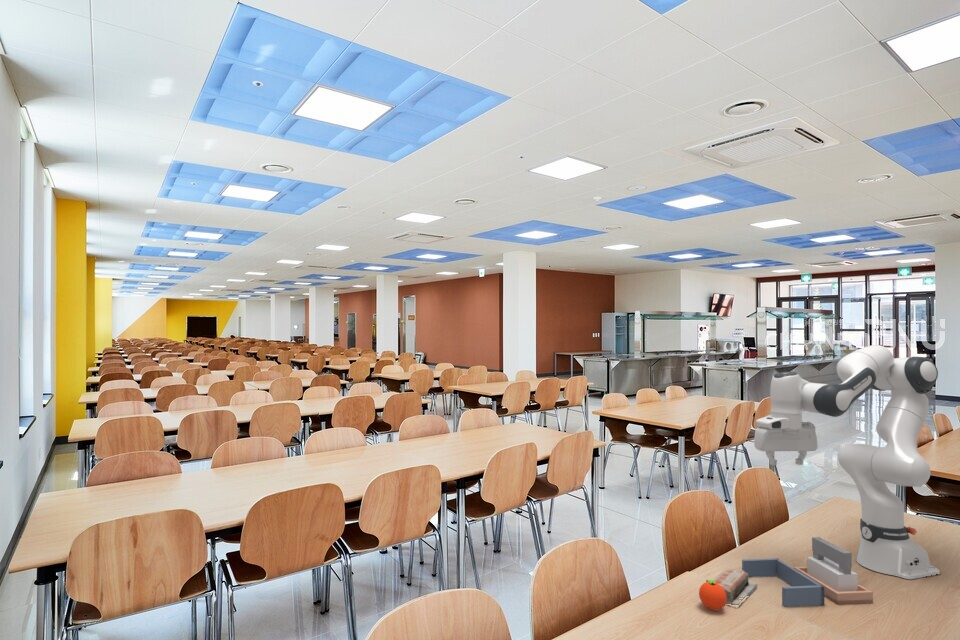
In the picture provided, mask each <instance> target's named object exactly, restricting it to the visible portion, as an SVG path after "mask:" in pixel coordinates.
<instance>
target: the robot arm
mask: <svg viewBox="0 0 960 640" xmlns="http://www.w3.org/2000/svg"><path fill="white" fill-rule="evenodd" d="M836 374H837V376H838V377H839V379H840V380H841V381H842V383H830V384H829V383H819V382H818V383H817V382H810V381H808V380H806V379H804V378H802V377H801V376H800V374H799V373H798V372H795V371H781V372H778V373H775V374H773V376H772V378H771V381H770V388H769V389H770V391H769V394H770V395H769V397H770V398H769V399H770V402H771V407H770V414H768V415H766V416H763V417H760V418H758V419H756V420H755V425H756V426H757V427H756V428H755V431H754V438H753V439H754V441H753V444H754V447H755V449H756V450H758V451H760V452H765V455H766V457H767V459H768V464H769V465H770V466H777V465H778V463H777V462H778V460H777V459H775V458H774V455H775V452H797V453H798V456H797V458H795V461H794V463H795V465H797V466H803V465H804V460H805V458H806V457H807V456H808V452H816V451H817V450H818V446H819V445H818V437H817V433H816V426H815V424H813V423H812V422H811V421H803V414H802V411H803V412H809V413H815V414H820V415H821V414H822V415H825V416H829V417H832V418H833V417H834V418H837V417H840V416H843V415H844V414H846V412H847V411H848V410H849V408H850V407H851V405H852V404H853V403H854V402H855V401H857V400H858V399H859V398H861V396H863V395H864V394H866V392H868V391H870V389H871V390H875V391H881V392H885V391H890V394H891V395H890V399H889V400H888V401H887V404H886V405H885V408H884V409H883V411H882V414H881V415H880V417H879V420H878V422H877V423H876V426H875V430H876V433H877V435H878V436H879V438H880V439H882V440H883V441H884V442H885V443H886V445H885V446H884V447H883V446H876V445H870V444H866V443H846V444H844V445H842V446H841V448H839V451H838V455H837V459H838V463H839V466H840V467H841V468H842V469H843V471H845V472H846V473H847V474H848V476H849V477H850V478H851V479H852V481H853V482H854V484H855V486H856V488H857V490H858V493H859V497H860V506H861V518H860V520H859V521H860V523H859V527H860V528H859V530H860V538H859V539H860V540H859V548H858V552H857V557H856V559H855V560H856V562H857V563H858V565H860V566H862V567H864V568H866V569H868V570H871V571H873V572H877V573H880V574H886V575H890V576H894V577H895V576H896V577H898V578H903V579H905V580H914V579H915V580H916V579H920V578H925V577H926V576H927V577H931V575H932V576H936V574H938V575H941V572H940V570H939V569H938V568H937V567H936V566H934V565H932V564H931V563H930V557H929V552H928V551H927V550H925V549H924V548H923V547H922V546H921V545H919V544H917V543H916V541H914V540H912V539H911V538H910V535H912V536H915V535H916V534H917V528H913V527H911V526H907V527H906V526H905V513H904V511H905V510H904V509H905V508H904V507H905V506H904V504H903V501H902V500H901V498H900V497H899V496H897V495H896V494H895V493H894V492H892V491H891V490H890V489H889V487H888V486H887V483H889V484H893V485H897V486H902V487H917V488H919V487H922V486H924V485H925V484H927V483H928V481H929V479H930V477H931V472H932V471H931V467H930V465H929V462H928V461H927V460H926V459H925V458H924V457H923V456H922V455H921V454H920V452H919V451H918V445H917V444H918V438H919V436H920V433H921V430H922V428H923V425H924V423H925V421H926V418H927V414H928V411H929V404H930V402H929V398H928V396H927V395H926V394H927V393H929V392H931V390H932V389H933V387H934V386H935V384H936V382H937V380H938V377H939V371H938V368H937V366H936V364H935V363H934V362H933V361H932V360H931V359H929V358H928V357H924V356H910V357H896V358H894V355H893V353H892V352H891V350H890V349H889V348H887V347H885V346H883V345H880V344H872V345H867V346H863V347H861V348H859V349H856V350H854V351H852V352H850V353H849V354H846V355H845V356H843V357H842V358H841V359H840V360H839V361H838V362H837V364H836ZM909 534H910V535H909Z"/></svg>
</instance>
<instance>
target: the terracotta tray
mask: <svg viewBox="0 0 960 640" xmlns="http://www.w3.org/2000/svg"><path fill="white" fill-rule="evenodd" d="M793 568H794V569H796V570H797V571H799V572H801V573H802V574H804V575H805V576H807V577H809V578H810V579H812V580H814V581H815V582H817V583H819V584H820V585H822V586H823V587H824V598H825V599H828V600H829V601H831V602H832V603H834V604H836V605H839V606H840V605H855V604H856V605H857V604H860V605H861V604H873V603H874V592H873V590H870V589H868V588H867V587H864V586H863V585H860V583H858V591H844V592H837V591H836V590H834V589H832V588H831V587H829V586H827V585H826V584H824V583H822V582H821V581H819V580H817V579H816V578H814V577H812V576H811V575H809V574H807V566H793Z"/></svg>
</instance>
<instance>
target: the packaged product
mask: <svg viewBox="0 0 960 640" xmlns="http://www.w3.org/2000/svg"><path fill="white" fill-rule="evenodd" d="M749 578H750V577H749V575H748V573H746V572H744V571H743V570H742V569H733V568H727V569H726V568H725V569H724V570H723V571H722V572H720V574H718V575H717V576H716V577H715V578H714V579H712V581H714V582H716V583H717V584H719V585H720V586H721V587H722V588H723V589H724V591H725V593H726V598H727V600H726V604H731V605H739V604H740V602H741V601H742V600H743V599H744V598H745V597H746V596H749V597H751V595H753V593H754V592H755V591H756V590H757V588H758V583H756V582H753V581H750V580H749ZM741 596H742V597H741ZM743 596H744V597H743ZM739 598H743V599H739ZM739 600H741V601H739Z"/></svg>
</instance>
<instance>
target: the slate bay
mask: <svg viewBox="0 0 960 640" xmlns="http://www.w3.org/2000/svg"><path fill="white" fill-rule="evenodd" d="M741 570H743V571H744V572H746V573H748V575H749V577H748V578H753V577H754V578H758V577H760V578H761V577H778V579H781V580H782V581H784V582H785V583H786V584H788V585H789V586H782V587H781V605H782V606H783V607H784V608H792V607H793V608H795V607H814V606H816V607H818V606H825V596H824V587H823V586H822V585H820V584H819V583H817V582H815V581H814V580H812V579H810V578H809V577H807V576H805V575H804V574H802V573H801V572H799V571H797V570H796V569H794V567H792V566H790V565H789V564H787V563H786V562H784V561H783V560H781V559H780V558H751V559H750V558H749V559H748V558H747V559H746V558H745V559H741Z"/></svg>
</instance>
